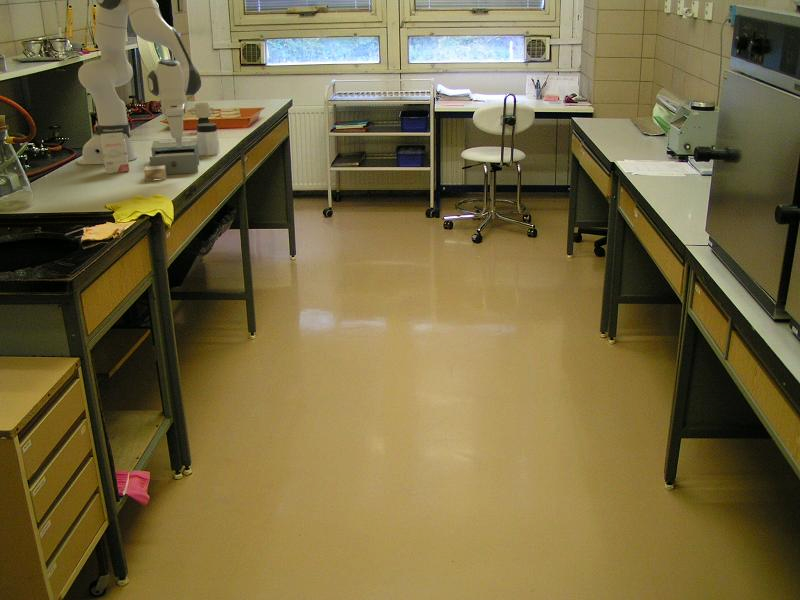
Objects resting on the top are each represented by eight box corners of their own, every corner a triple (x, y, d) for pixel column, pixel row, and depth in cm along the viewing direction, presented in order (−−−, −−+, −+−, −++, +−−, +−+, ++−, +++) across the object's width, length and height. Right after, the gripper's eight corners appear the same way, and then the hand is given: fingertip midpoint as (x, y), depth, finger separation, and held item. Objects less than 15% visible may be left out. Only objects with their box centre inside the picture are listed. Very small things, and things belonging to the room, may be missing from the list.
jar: (202, 156, 345) (199, 126, 341) (195, 153, 352) (192, 124, 347) (223, 154, 350) (220, 124, 346) (216, 151, 356) (213, 122, 352)
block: (145, 181, 304) (144, 170, 302) (146, 177, 310) (145, 166, 309) (165, 179, 305) (164, 168, 304) (166, 175, 312) (165, 165, 310)
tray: (151, 175, 311) (149, 157, 309) (154, 166, 327) (152, 149, 325) (198, 172, 314) (196, 154, 312) (198, 163, 330) (196, 146, 328)
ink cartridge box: (129, 169, 325) (124, 130, 320) (129, 171, 320) (123, 132, 315) (105, 171, 323) (100, 131, 318) (105, 173, 318) (99, 134, 313)
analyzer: (153, 167, 327) (151, 147, 324) (155, 159, 341) (153, 140, 339) (199, 164, 330) (197, 144, 327) (199, 157, 344) (197, 137, 342)
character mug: (217, 129, 410) (214, 102, 405) (214, 132, 403) (212, 104, 399) (194, 130, 410) (191, 102, 405) (191, 132, 403) (188, 104, 398)
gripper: (166, 105, 309) (171, 143, 314) (164, 112, 290) (169, 152, 295) (184, 103, 310) (189, 142, 315) (183, 110, 291) (188, 151, 296)
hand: (179, 147), depth 305 cm, fingers closed
